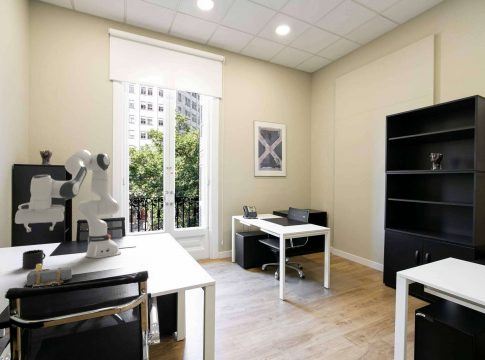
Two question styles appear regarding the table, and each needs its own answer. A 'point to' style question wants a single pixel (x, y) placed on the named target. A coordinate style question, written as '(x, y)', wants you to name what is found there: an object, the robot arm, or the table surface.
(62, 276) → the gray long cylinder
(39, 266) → the pin
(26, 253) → the mug
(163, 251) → the table surface
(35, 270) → the tan lumpy piece
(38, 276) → the peg rack
